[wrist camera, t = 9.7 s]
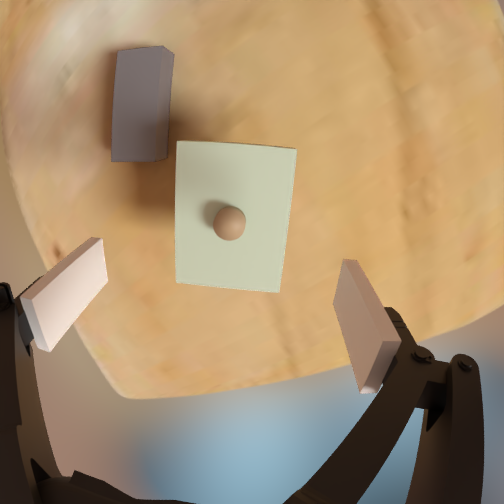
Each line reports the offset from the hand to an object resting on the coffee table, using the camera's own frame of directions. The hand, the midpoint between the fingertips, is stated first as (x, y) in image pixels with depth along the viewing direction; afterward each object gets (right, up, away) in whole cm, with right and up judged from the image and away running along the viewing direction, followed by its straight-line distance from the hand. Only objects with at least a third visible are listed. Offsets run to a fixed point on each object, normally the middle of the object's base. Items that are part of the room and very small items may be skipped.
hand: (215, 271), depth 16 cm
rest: (-9, +17, +14) cm, 24 cm away
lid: (0, +4, +10) cm, 11 cm away
